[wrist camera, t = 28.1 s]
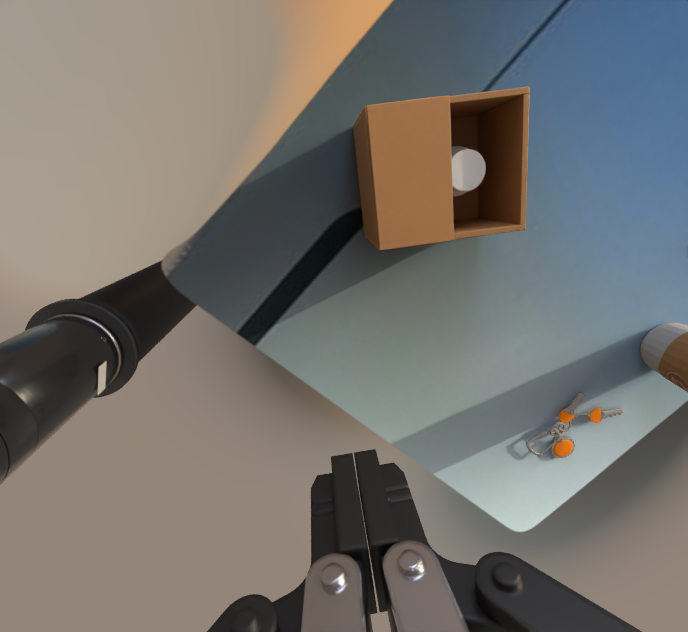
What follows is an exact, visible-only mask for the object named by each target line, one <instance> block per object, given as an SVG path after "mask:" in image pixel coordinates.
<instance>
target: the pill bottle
mask: <svg viewBox="0 0 688 632" xmlns="http://www.w3.org/2000/svg"><path fill="white" fill-rule="evenodd" d="M451 155H452V189H453V197H456V196H460V195H463V194H465V193H467V192H468V191H471V190H473V189H475V188H476V187H477V186H479V184H480V183H481V182H482V180H483V178H484V176H485V171H486V166H485V161H484V159H483V157H482V156H481V154H480V153H478V152H477V151H475V150H472V149H468V148H466V147H462V146H453V147H451Z"/></svg>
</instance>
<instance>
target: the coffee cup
mask: <svg viewBox="0 0 688 632" xmlns="http://www.w3.org/2000/svg"><path fill="white" fill-rule="evenodd" d="M640 353H641V357H642V358H643V360H644V362H645V364H646V365H648V366H649V367H650V368H652V369H653V370H655V371H656V372H658V373H660V374H661V375H662V376H664V377H665V378H666V379H668V380H669V381H671V382H672V383H674V384H676V385H677V386H679V387H680V388H682V389H683V390H685V391H687V392H688V326H687V325H683V324H680V323H667V324H662V325H659V326H657V327H655V328H654V329H652V330H651V331H650V332H649V333H648V334H647V335H646V336H645V338H644V339H643V341H642V344H641V348H640Z"/></svg>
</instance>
